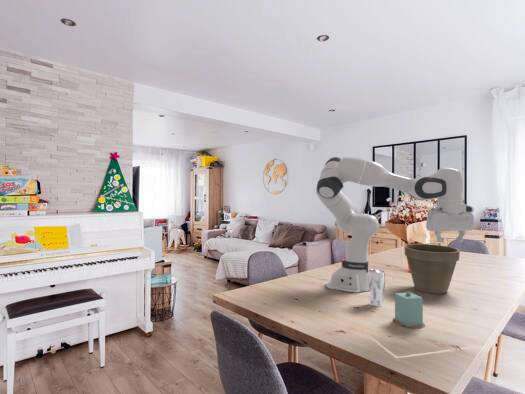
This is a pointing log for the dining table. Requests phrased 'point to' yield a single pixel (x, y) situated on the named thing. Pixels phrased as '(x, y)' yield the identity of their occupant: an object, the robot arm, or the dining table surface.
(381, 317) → the dining table surface
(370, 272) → the shiny silver metal cup
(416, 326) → the disc
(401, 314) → the teal knobbed box
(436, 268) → the plant pot
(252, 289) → the dining table surface
